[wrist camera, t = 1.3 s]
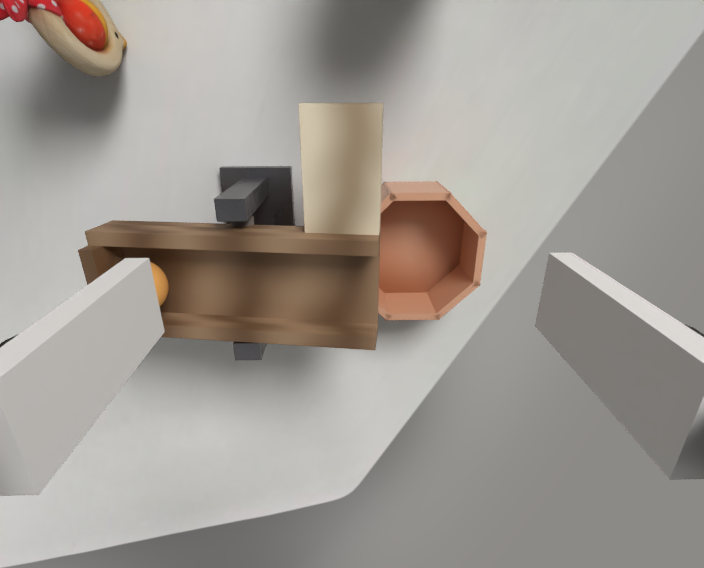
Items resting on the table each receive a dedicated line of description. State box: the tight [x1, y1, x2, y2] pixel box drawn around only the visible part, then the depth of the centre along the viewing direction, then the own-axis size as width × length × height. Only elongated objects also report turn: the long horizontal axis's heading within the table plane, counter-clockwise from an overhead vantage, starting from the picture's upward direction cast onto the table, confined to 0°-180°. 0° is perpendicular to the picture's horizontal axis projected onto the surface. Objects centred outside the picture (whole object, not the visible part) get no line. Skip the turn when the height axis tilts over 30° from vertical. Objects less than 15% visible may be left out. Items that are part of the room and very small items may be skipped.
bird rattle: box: [0, 0, 127, 76], centre depth 27 cm, size 6×11×9 cm
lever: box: [78, 103, 383, 350], centre depth 29 cm, size 20×16×6 cm
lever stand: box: [214, 166, 295, 360], centre depth 34 cm, size 6×14×10 cm, turn 0°
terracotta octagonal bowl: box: [378, 181, 487, 320], centre depth 37 cm, size 11×11×5 cm
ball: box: [150, 262, 169, 307], centre depth 30 cm, size 4×4×4 cm
